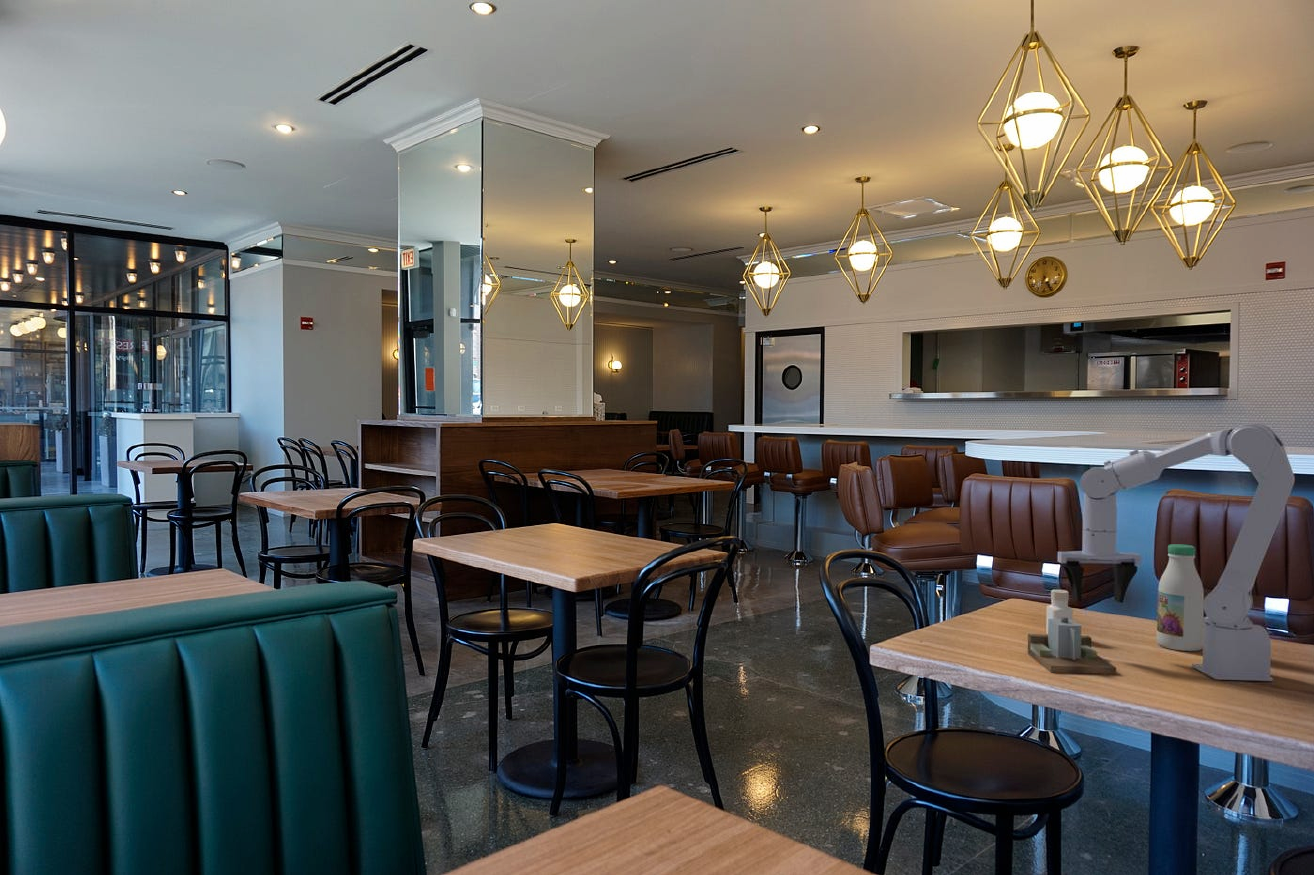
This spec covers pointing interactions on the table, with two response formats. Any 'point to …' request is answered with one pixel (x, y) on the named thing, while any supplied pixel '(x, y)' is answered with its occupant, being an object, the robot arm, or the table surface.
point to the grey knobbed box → (1064, 638)
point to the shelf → (1067, 665)
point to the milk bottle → (1180, 602)
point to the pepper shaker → (1058, 606)
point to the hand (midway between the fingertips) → (1098, 601)
